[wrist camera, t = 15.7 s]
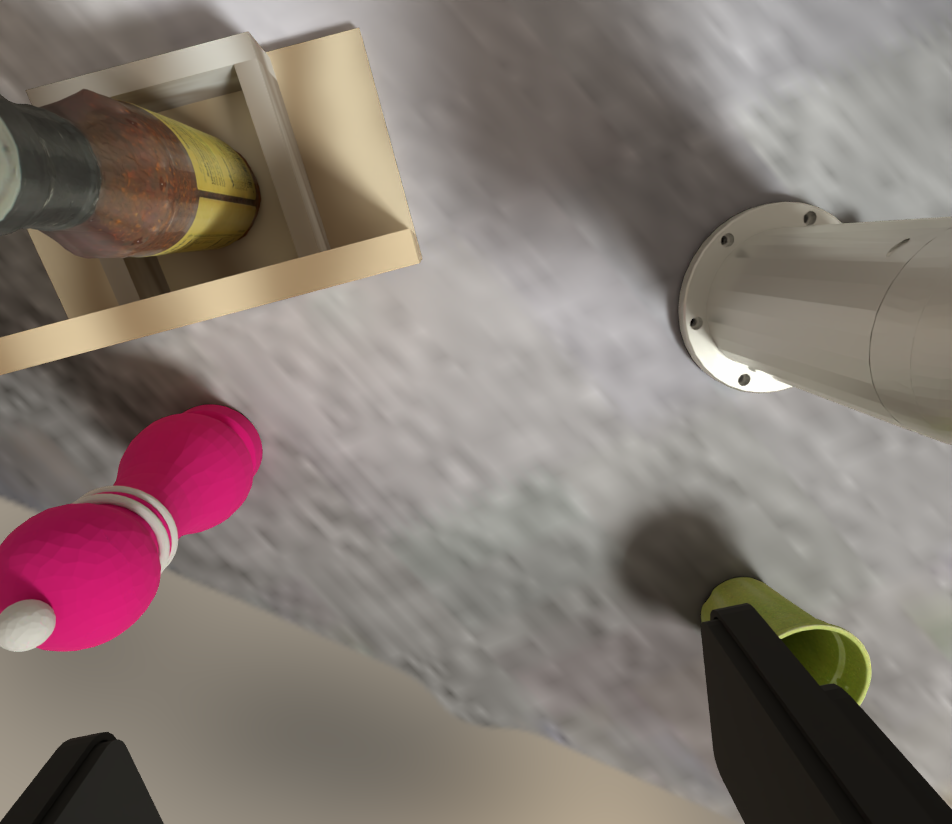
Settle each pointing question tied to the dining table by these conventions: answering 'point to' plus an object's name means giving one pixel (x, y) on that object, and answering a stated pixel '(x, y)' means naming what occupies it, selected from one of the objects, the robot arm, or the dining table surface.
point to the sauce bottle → (120, 179)
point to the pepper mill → (123, 532)
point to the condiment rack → (280, 181)
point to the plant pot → (801, 635)
